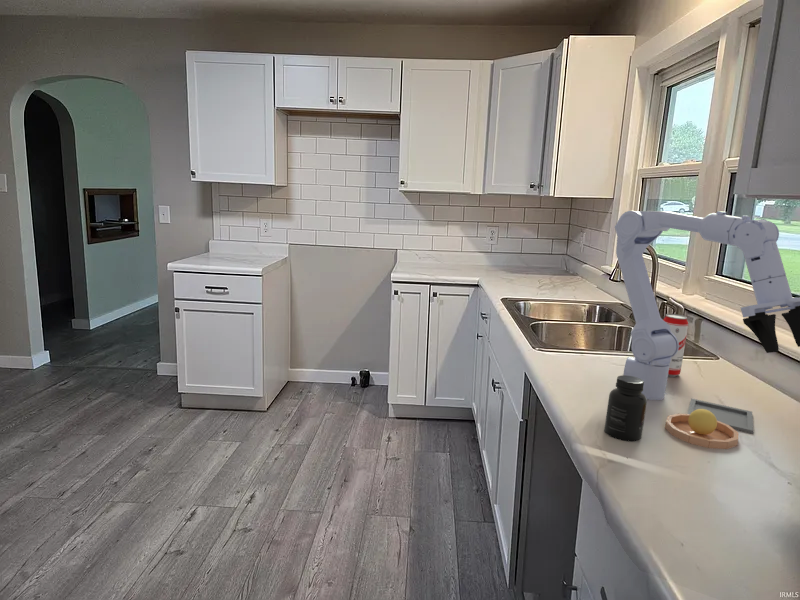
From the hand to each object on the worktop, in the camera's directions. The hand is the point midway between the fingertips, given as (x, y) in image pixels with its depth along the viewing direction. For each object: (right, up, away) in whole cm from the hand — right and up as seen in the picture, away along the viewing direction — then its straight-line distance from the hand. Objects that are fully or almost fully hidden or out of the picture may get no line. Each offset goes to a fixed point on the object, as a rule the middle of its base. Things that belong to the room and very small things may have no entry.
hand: (788, 349), depth 104 cm
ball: (-14, -17, +6) cm, 23 cm away
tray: (-4, -17, +15) cm, 23 cm away
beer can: (-1, -11, +44) cm, 46 cm away
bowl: (-14, -18, +6) cm, 23 cm away
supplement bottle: (-30, -18, +4) cm, 35 cm away
